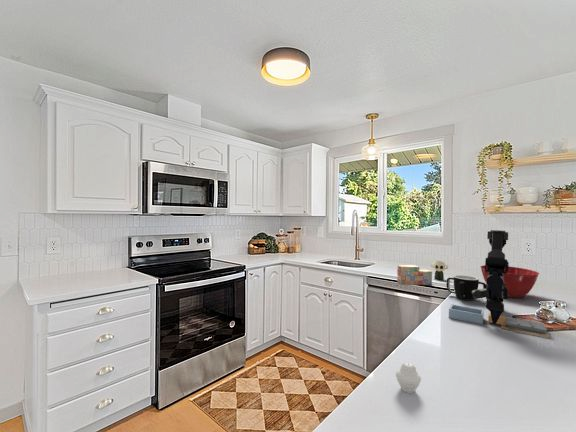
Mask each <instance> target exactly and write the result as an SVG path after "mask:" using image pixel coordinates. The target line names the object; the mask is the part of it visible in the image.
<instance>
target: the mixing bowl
mask: <svg viewBox="0 0 576 432" xmlns="http://www.w3.org/2000/svg"><path fill="white" fill-rule="evenodd" d="M487 269H488V268H487ZM480 270H481V273H482V278H483V280H484V281H485V282H484V283H485V284H487V277H488V272H485V265H481V266H480ZM504 271H505V269H504ZM503 275H504V282H505V287H506V288H507V290H508V298H512V299H513V298H514V299H516V298H517V299H520V298H522V297H526V296H527V295H528V294H529V293H530V292H531V291H532V289H533V288H534V286H535V284H536V282H537V279H538V277H539V275H540V272H538V271H536V270H533V269H527V268H523V267H516V266H509V268H508V272H507V274H503ZM503 296H505V295H503Z"/></svg>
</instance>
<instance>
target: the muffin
mask: <svg viewBox="0 0 576 432" xmlns="http://www.w3.org/2000/svg"><path fill="white" fill-rule="evenodd" d="M400 366H401V367H400V368H399V369H397V370H396V372H395V377H396V380H397V382H398V385H399V387H400V389H401V390H402V392H404V393H408V394H413V393H415V392H416V390H417V389H418V387H419V386H420V383H421V380H422V377H421V374H419V372H418V371H417V368H416V366H415V365H414V364H412V363H410V362H404V363H402V364H401V365H400Z"/></svg>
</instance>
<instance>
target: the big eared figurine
mask: <svg viewBox="0 0 576 432" xmlns="http://www.w3.org/2000/svg"><path fill="white" fill-rule="evenodd" d="M430 264H431V265H430V266H431V267H430V268H432V269H434V279H435V280H438V279H439V280H444V279H445V277H444V274H445V273H444V271H445V270H449V269H448V268H449V265H448V264H446V262H445V261H441V260H434V261H433V262H432V263H430Z"/></svg>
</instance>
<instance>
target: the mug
mask: <svg viewBox="0 0 576 432" xmlns="http://www.w3.org/2000/svg"><path fill="white" fill-rule="evenodd" d="M450 280H451V281H453V290H452V289H451V287H450V286H451V285H450V283H451V281H450ZM479 285H482V289H485V288H486V282H482V281H479V278H478V277H475V276H471V275H464V274H462V275H461V274H457V275H454V276H453V277H448V278H446V290H447V291H448V292H449V293H451V294H454V295H455V297H456V298H458V299H460V300H463V301H475V299H474V297H473V294H472V291H473V290H478V289H479Z"/></svg>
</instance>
